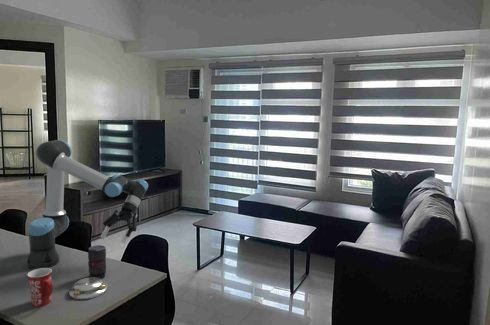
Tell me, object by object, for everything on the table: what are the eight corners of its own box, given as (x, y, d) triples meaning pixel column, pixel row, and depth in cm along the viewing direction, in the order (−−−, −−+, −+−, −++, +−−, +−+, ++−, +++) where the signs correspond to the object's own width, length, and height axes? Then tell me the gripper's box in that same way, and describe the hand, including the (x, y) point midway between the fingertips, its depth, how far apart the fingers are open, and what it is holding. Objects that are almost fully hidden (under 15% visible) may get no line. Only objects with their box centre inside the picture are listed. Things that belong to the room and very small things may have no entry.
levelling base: (78, 282, 171) (78, 275, 171) (112, 282, 172) (112, 275, 171) (62, 299, 155) (62, 291, 155) (100, 299, 156) (99, 292, 156)
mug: (25, 303, 152) (23, 273, 150) (46, 294, 159) (45, 265, 157) (39, 313, 145) (38, 281, 143) (61, 303, 152) (60, 273, 150)
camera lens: (100, 281, 173) (99, 251, 171) (85, 279, 174) (84, 250, 172) (109, 274, 181) (109, 245, 178) (95, 272, 182) (94, 244, 180)
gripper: (153, 211, 195) (135, 247, 183) (116, 206, 204) (97, 239, 192) (146, 204, 189) (128, 240, 177) (109, 198, 198) (89, 233, 186)
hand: (112, 240), depth 185 cm, fingers open, 13 cm apart
